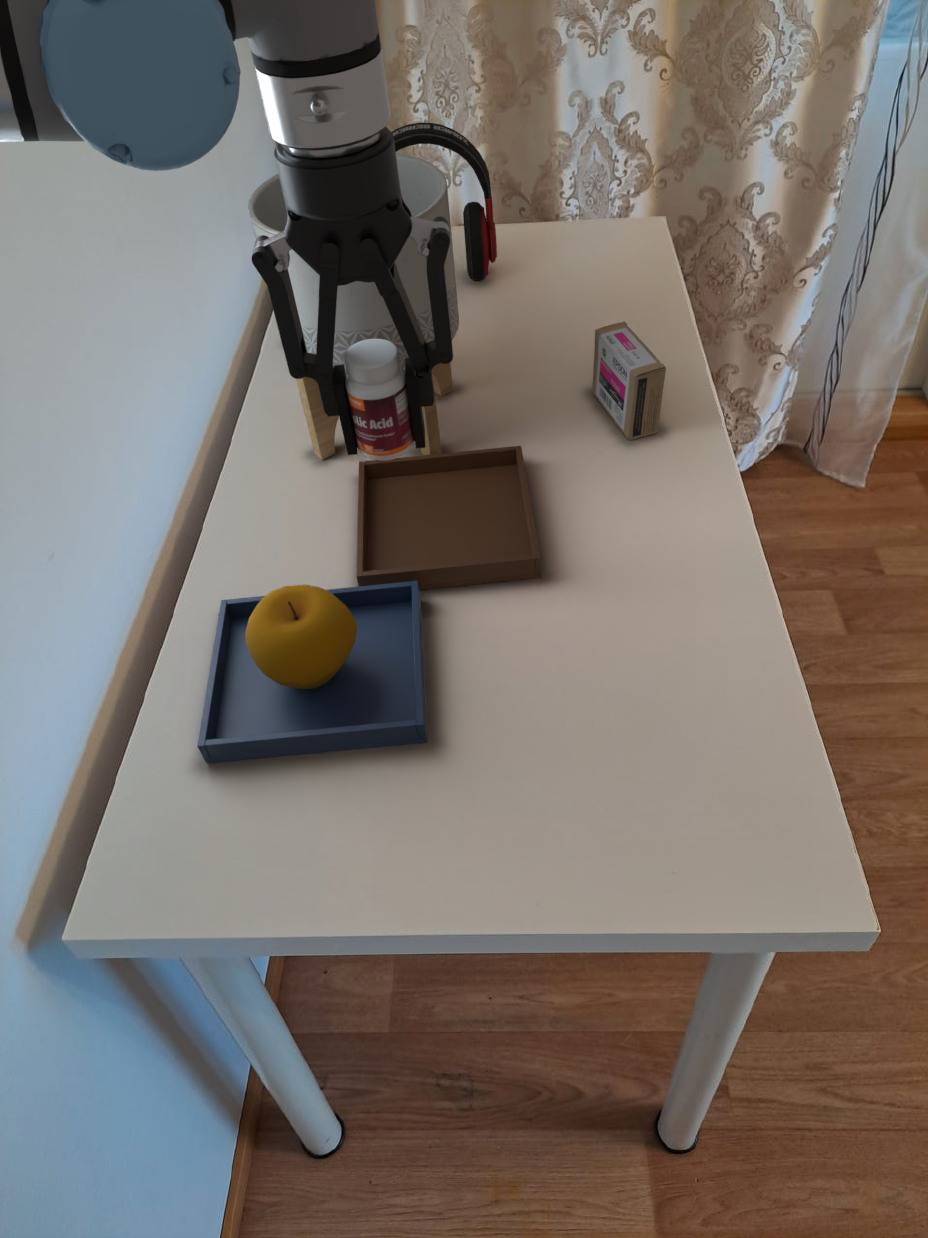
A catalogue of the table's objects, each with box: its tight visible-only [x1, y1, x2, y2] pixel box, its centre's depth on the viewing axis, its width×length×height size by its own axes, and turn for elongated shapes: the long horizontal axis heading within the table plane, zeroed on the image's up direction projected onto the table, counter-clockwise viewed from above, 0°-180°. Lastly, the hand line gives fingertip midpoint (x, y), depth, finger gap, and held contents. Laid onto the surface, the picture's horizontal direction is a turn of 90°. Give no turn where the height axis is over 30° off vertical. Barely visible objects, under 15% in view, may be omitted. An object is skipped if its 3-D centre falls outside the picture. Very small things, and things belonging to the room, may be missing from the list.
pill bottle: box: [344, 339, 415, 461], centre depth 70 cm, size 5×5×8 cm
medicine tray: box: [355, 445, 542, 591], centre depth 90 cm, size 17×17×3 cm
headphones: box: [391, 122, 498, 282], centre depth 118 cm, size 18×10×20 cm, turn 92°
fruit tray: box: [197, 581, 428, 765], centre depth 78 cm, size 18×16×3 cm
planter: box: [247, 152, 460, 461], centre depth 95 cm, size 19×19×26 cm
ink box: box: [591, 321, 667, 441], centre depth 99 cm, size 10×4×8 cm, turn 18°
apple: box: [245, 584, 357, 689], centre depth 76 cm, size 9×9×9 cm
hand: (386, 440), depth 73 cm, fingers closed on pill bottle, 5 cm apart
